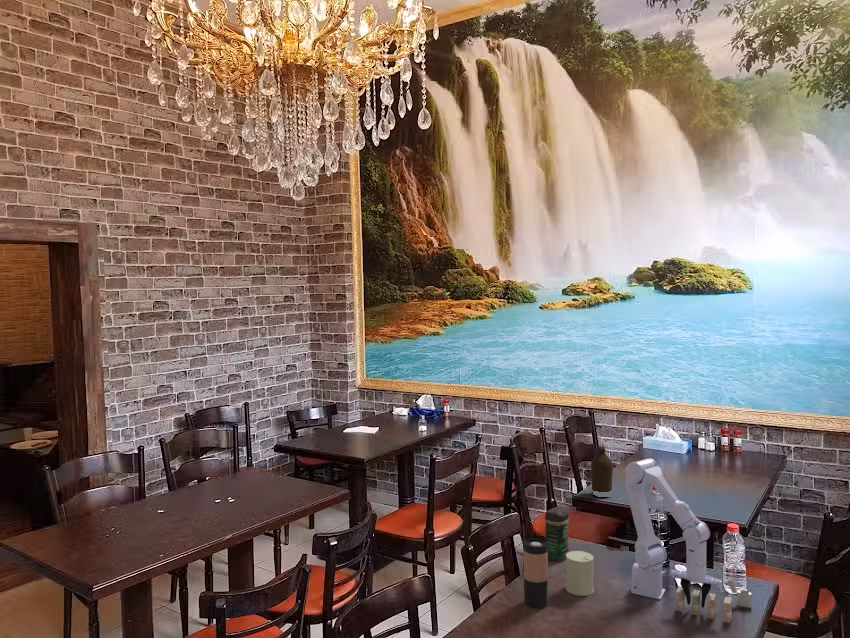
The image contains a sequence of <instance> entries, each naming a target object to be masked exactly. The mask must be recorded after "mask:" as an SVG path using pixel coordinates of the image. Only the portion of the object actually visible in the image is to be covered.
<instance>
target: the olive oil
mask: <svg viewBox="0 0 850 638" xmlns="http://www.w3.org/2000/svg"><path fill="white" fill-rule="evenodd" d="M597 451H598V453H597V454H596V455H595V456H594V457H592V458H591V459H592V460H591V462H590V473H591V474H590V475H591V476H590V477H591V491H592V490H593V491H598V492H609V491H611V490H612V489H613V475H614V474H613V473H614V472H613V471H614V470H613V469H614V464H613V461H612V459H611V458H610V457H609V456H608V455H607V453H606V445H603V444H599V445H598V449H597Z"/></svg>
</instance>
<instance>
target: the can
mask: <svg viewBox="0 0 850 638" xmlns="http://www.w3.org/2000/svg"><path fill="white" fill-rule="evenodd" d="M565 559H566V560H565V565H566V566H565V567H566V568H565V569H566V570H565V572H566V575H565V580H566V581H565V590H566V591H567V593H569V594H571V595H574V596H578V597H580V596H581V597H584V596H585V597H586V596H590V595H592V594H593V593H594V591H595V590H594V556H593V554H591V553H589V552H586V551H584V550H583V551H582V550H572V551H569V552H568V553H567V554H566V558H565Z"/></svg>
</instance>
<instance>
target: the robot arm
mask: <svg viewBox="0 0 850 638" xmlns="http://www.w3.org/2000/svg"><path fill="white" fill-rule="evenodd" d="M624 474H625V483H624V486H625V489H626V490H625V491H626V495H627V498H628V503H629V506H630V510H631V514H632V519H633V522H634V526H635V529H636V535H637V540H636V542H635V544H634V550H635V553H634V559H635V562H634V563H633V565H632V568H631V591H630V593H631V594H634V595H638V596H642V597H646V598H651V599H656V600H662V597H663V596H664V594H665V592H666V588H663V566H664V562H666V560H667V557H668V555H667V551H666V548H665V547H664V545H663V543H662V540H661V538H659V537H658V536H656V535H655V531H654V526H653V522H652V519H651V515H650V511H649V506H648V503H647V499H646V494H645V490H644V488H645V486H646V485H647V486H652V487H653V488H654V489H655V490H656V492H657V493H658V494H659V495H660V496H661V497H662V499H663V500H664V501H665V503H667V505H668V506H669V513H670V514H671V516H672V517H673V519H674V520H675V521H676V523H677V525H678V526H679V527H680V528H681V530H682V531H683V532H682V537H683V539H684V541H685V546H686V557H685V558H686V561H685V562H686V565H685V566H686V567H685V568H686V570H676V569H672V570H671V571H670V578H671V579H680V582H679V583H680V587H682V588H683V590H684V593H685V600H686V604H687V605H690V604H691V603H692V593H691V588H692V587H691V586H692V584H691V583H694V584H701V587H700V592H701V600H700V608H702V609H703V608H705V606H706V599H707V598H708V596H709V593H710V591H711V588H712V587H716V588H717V589H722V587H723V581H722V579H719V578H716V577H713V576H710V575H708V574H707V540H709V539H710V537H711V531H710V528H709V527H708V524H706V523H705V522H703V521H701V520H700V519H699V518H697V517H696V515H695V514H694V513H693V511H692V510H691V509H690V508H691V507H690V506H689V504H687V503H686V502H684V501H682V500H679V498H678V497H677V495H676V494H675V492H674V491H673V489H672V488H671V486H670V485H669V483H668V481H667V480H666V479H665V477H664V475H663V472H662V468H661V467H660V466H659V464H658V463H657V462H656V461H655V460H654V459H653V458H650V457H647V458H644V459H641V460H638V461H637V460H636V461H632V462H629V463H628V464H627V466H626V467H625V469H624Z"/></svg>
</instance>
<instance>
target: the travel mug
mask: <svg viewBox="0 0 850 638" xmlns="http://www.w3.org/2000/svg"><path fill="white" fill-rule="evenodd" d="M548 560H549V559H548V551H547V543H545V540H543V539H542V538H534V537H532V538H526V539H525V540H524V541H523V593H524V594H523V595H524V596H523V599H524V604H525V606H526V607H527V608H531V609H534V610H541V609H544V608H546V607H547V605H548V583H549V580H548V578H549V576H548V574H549V572H548V569H549V568H548V564H549V563H548Z"/></svg>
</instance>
